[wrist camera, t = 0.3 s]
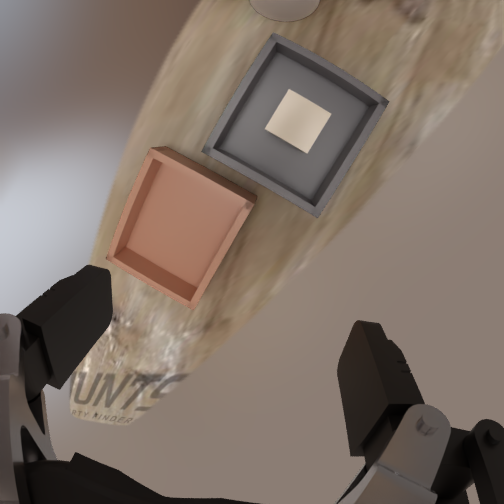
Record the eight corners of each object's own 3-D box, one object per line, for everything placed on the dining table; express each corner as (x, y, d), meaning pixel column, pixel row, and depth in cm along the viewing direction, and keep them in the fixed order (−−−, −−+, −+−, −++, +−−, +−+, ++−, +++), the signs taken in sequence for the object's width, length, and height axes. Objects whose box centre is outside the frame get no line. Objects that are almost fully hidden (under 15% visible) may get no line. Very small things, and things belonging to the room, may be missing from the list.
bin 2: (273, 45, 28) (273, 32, 24) (375, 106, 29) (389, 101, 25) (210, 150, 33) (201, 151, 28) (312, 208, 34) (317, 218, 30)
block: (287, 96, 29) (288, 88, 25) (323, 117, 29) (331, 113, 25) (266, 130, 31) (264, 128, 26) (302, 152, 31) (307, 153, 26)
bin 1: (165, 146, 33) (150, 147, 29) (257, 196, 34) (254, 204, 30) (122, 246, 37) (105, 258, 33) (202, 292, 39) (193, 310, 35)
